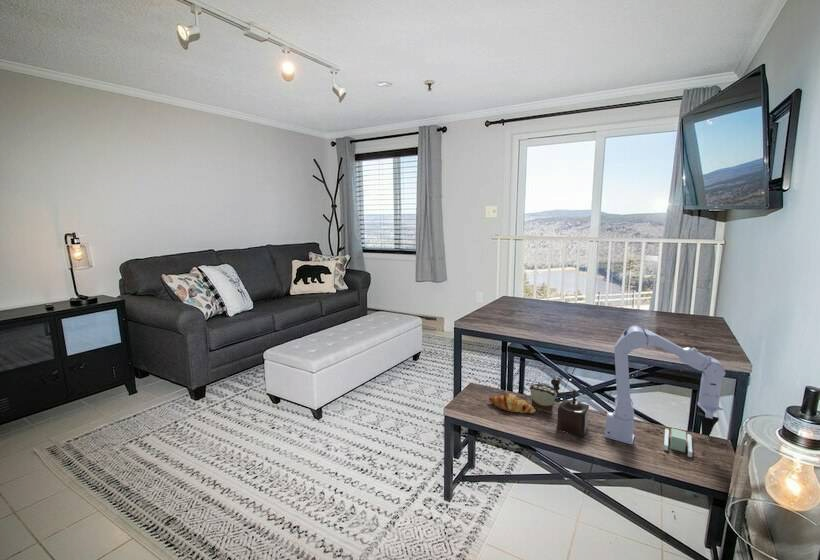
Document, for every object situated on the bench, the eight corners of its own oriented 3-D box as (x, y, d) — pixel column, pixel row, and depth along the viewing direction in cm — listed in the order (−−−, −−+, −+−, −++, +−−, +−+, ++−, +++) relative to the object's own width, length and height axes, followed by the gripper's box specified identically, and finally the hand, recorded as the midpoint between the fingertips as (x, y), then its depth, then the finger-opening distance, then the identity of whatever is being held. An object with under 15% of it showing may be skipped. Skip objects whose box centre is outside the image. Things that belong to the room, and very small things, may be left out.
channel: (663, 449, 142) (664, 444, 142) (664, 433, 154) (665, 428, 153) (691, 457, 138) (692, 452, 137) (690, 439, 149) (691, 434, 149)
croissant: (536, 419, 173) (539, 400, 175) (532, 417, 164) (535, 398, 166) (490, 407, 183) (493, 390, 185) (484, 405, 174) (487, 387, 177)
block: (670, 448, 143) (671, 436, 143) (670, 440, 149) (671, 428, 148) (684, 452, 141) (686, 439, 140) (684, 443, 146) (685, 431, 146)
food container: (560, 409, 174) (561, 388, 172) (555, 414, 169) (556, 392, 168) (534, 401, 182) (535, 381, 181) (528, 405, 177) (529, 385, 176)
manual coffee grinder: (588, 425, 160) (591, 384, 157) (583, 437, 151) (586, 393, 148) (550, 415, 168) (552, 376, 166) (543, 426, 159) (545, 384, 157)
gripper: (726, 403, 128) (721, 441, 130) (722, 388, 140) (718, 423, 142) (699, 398, 132) (695, 435, 134) (698, 384, 144) (694, 418, 146)
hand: (705, 429), depth 138 cm, fingers open, 7 cm apart
